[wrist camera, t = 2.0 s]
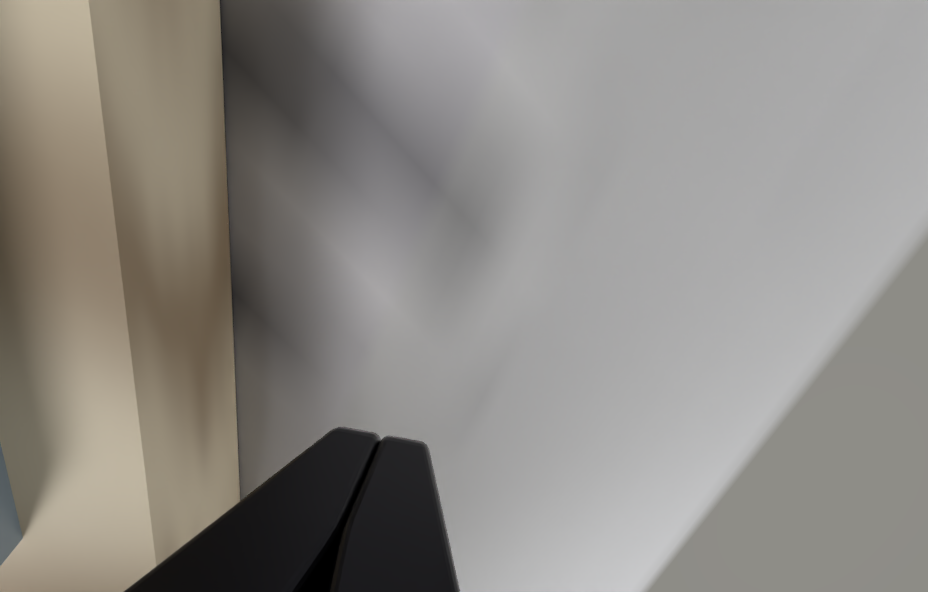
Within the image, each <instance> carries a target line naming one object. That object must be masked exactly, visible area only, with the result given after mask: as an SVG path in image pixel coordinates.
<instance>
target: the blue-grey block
mask: <svg viewBox="0 0 928 592" xmlns="http://www.w3.org/2000/svg"><path fill="white" fill-rule="evenodd" d="M22 539H23V536H22V532H21V528H20V524H19V519H18V515H17V511H16V507H15V502H14V498H13V494H12V490H11V485H10V481H9V477H8V473H7V469H6V464H5V460H4V456H3V452H2V447H1V443H0V566H1V565H2V563H3V562H4V561H5V560H6V559H7V557H8V556H9V555H10V554H11V552H12V551H13V550H14V549H15V547H16V546H17V545H18V544H19V542H20V541H21V540H22Z"/></svg>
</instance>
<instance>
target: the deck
mask: <svg viewBox="0 0 928 592" xmlns="http://www.w3.org/2000/svg"><path fill="white" fill-rule="evenodd" d="M0 443H1V447H2V452H3V456H4V460H5V464H6V469H7V473H8V477H9V481H10V485H11V490H12V494H13V498H14V502H15V507H16V511H17V515H18V519H19V524H20V528H21V532H22V536H23V539H22V540H21V541H20V542H19V544H18V545H17V546H16V547H15V549H14V550H13V551H12V552H11V554H10V555H9V556H8V557H7V559H6V560H5V561H4V562H3V563H2V565H1V566H0V592H124V591H125V590H126V589H128V588H129V587H130V586H131V585H133V584H134V583H135V582H137V581H138V580H139V579H141V578H142V577H143V576H144V575H146V574H147V573H148V572H150V571H151V570H152V569H153V568H155V567H156V566H157V565H159V564H160V563H161V562H162V561H164V560H165V559H166V558H168V557H169V556H170V555H171V554H173V553H174V552H175V551H177V550H178V549H179V548H180V547H182V546H183V545H184V544H186V543H187V542H188V541H189V540H191V539H192V538H193V537H195V536H196V535H197V534H198V533H200V532H201V531H202V530H204V529H205V528H206V527H207V526H209V525H210V524H211V523H213V522H214V521H215V520H217V519H218V518H219V517H220V516H222V515H223V514H224V513H226V512H227V511H228V510H229V509H231V508H232V507H233V506H235V505H236V504H237V503H238V502H240V486H239V462H238V437H237V413H236V388H235V364H234V339H233V315H232V290H231V266H230V241H229V217H228V192H227V168H226V143H225V119H224V94H223V70H222V45H221V21H220V0H0Z"/></svg>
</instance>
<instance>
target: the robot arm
mask: <svg viewBox="0 0 928 592" xmlns="http://www.w3.org/2000/svg"><path fill="white" fill-rule="evenodd" d="M124 592H460V589H459V585H458V580H457V576H456V571H455V566H454V562H453V557H452V553H451V548H450V544H449V539H448V534H447V530H446V525H445V521H444V516H443V512H442V507H441V502H440V498H439V493H438V489H437V484H436V480H435V475H434V470H433V466H432V461H431V457H430V452H429V449H428V447H427V445H426V444H425V443H424V442H421V441H417V440H411V439H406V438H400V437H395V436H386V437H384V438H383V439H382V440H381V439H380V437H379V436H378V435H377V434H376V433H374V432H368V431H363V430H357V429H352V428H347V427H338V428H335V429H333V430H331V431H330V432H329V433H327V434H326V435H325V436H323V437H322V438H321V439H320V440H318V441H317V442H316V443H314V444H313V445H312V446H311V447H309V448H308V449H307V450H305V451H304V452H303V453H302V454H300V455H299V456H298V457H296V458H295V459H294V460H293V461H291V462H290V463H289V464H287V465H286V466H285V467H284V468H282V469H281V470H280V471H278V472H277V473H276V474H274V475H273V476H272V477H271V478H269V479H268V480H267V481H265V482H264V483H263V484H262V485H260V486H259V487H258V488H256V489H255V490H254V491H253V492H251V493H250V494H249V495H247V496H246V497H245V498H244V499H242V500H241V501H240V502H238V503H237V504H236V505H235V506H233V507H232V508H231V509H229V510H228V511H227V512H226V513H224V514H223V515H222V516H220V517H219V518H218V519H217V520H215V521H214V522H213V523H211V524H210V525H209V526H207V527H206V528H205V529H204V530H202V531H201V532H200V533H198V534H197V535H196V536H195V537H193V538H192V539H191V540H189V541H188V542H187V543H186V544H184V545H183V546H182V547H180V548H179V549H178V550H177V551H175V552H174V553H173V554H171V555H170V556H169V557H168V558H166V559H165V560H164V561H162V562H161V563H160V564H159V565H157V566H156V567H155V568H153V569H152V570H151V571H150V572H148V573H147V574H146V575H144V576H143V577H142V578H141V579H139V580H138V581H137V582H135V583H134V584H133V585H131V586H130V587H129V588H128V589H126V590H125V591H124Z"/></svg>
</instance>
